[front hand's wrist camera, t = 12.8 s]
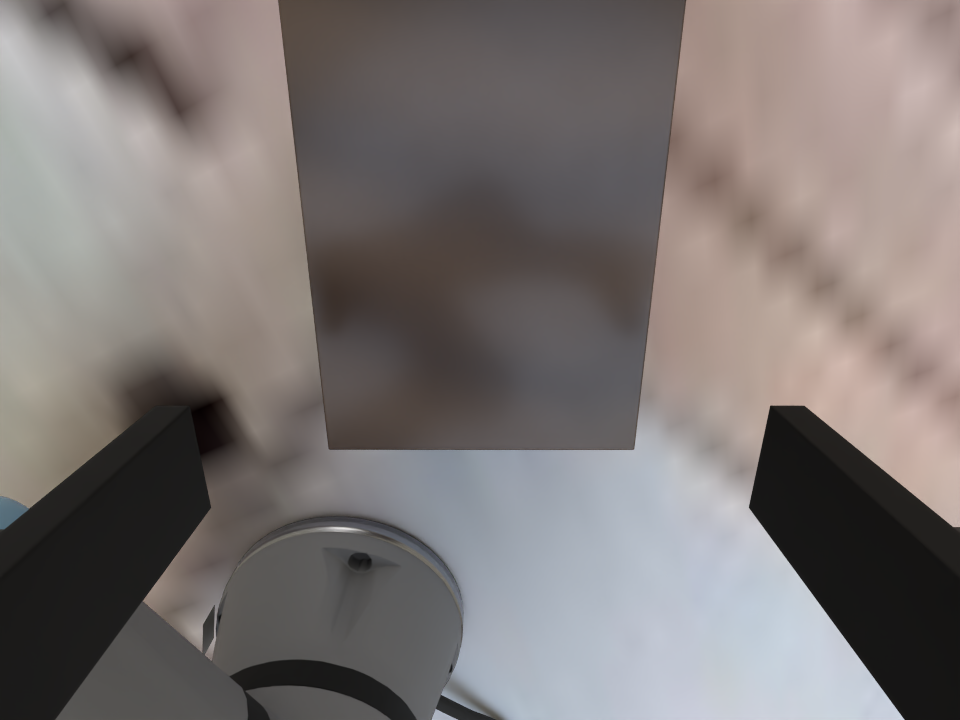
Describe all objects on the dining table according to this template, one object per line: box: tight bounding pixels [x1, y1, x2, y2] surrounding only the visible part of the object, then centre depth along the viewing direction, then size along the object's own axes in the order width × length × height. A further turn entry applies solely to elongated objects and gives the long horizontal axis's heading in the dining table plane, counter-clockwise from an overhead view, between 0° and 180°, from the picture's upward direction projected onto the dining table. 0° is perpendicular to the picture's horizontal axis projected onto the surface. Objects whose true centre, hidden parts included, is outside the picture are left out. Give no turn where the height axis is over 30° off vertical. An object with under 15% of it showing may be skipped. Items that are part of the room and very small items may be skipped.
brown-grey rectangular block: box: [278, 0, 686, 450], centre depth 22 cm, size 19×11×11 cm, turn 0°
